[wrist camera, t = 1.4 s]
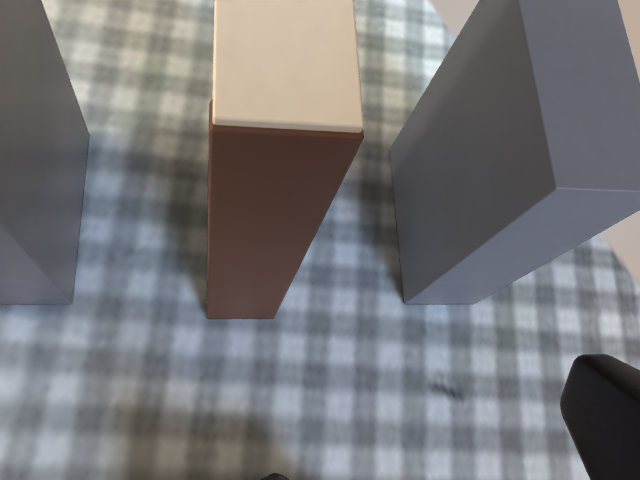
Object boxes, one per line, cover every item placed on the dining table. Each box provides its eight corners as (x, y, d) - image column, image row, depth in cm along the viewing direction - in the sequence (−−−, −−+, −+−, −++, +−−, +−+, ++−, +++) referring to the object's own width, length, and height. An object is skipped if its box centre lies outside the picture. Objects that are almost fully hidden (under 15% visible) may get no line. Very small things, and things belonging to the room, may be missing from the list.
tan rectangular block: (273, 320, 22) (368, 132, 9) (206, 320, 22) (208, 123, 9) (270, 133, 25) (339, -213, 12) (210, 129, 25) (216, -234, 12)
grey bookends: (473, 304, 24) (670, 193, 14) (-19, 304, 21) (-236, 156, 10) (452, 153, 26) (608, -37, 16) (8, 130, 23) (-147, -130, 13)
